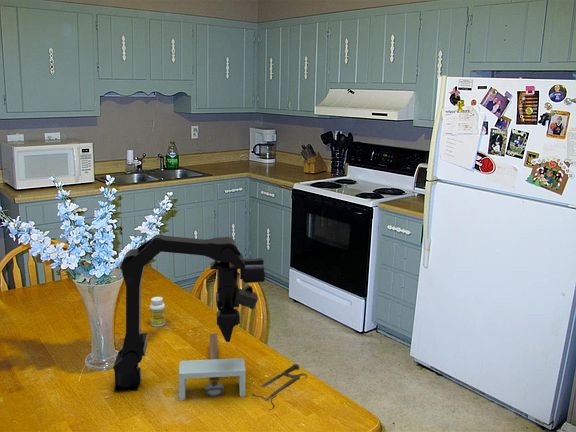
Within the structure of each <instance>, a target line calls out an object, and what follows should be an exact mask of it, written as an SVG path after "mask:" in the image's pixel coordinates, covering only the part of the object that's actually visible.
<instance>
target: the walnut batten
mask: <svg viewBox="0 0 576 432" xmlns="http://www.w3.org/2000/svg"><path fill="white" fill-rule="evenodd" d="M218 342H219V340H218V332H217V333H215V332H214V333H209V360H212V359H219V343H218ZM219 378H220V377H209V381H219Z"/></svg>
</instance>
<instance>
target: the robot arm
mask: <svg viewBox="0 0 576 432" xmlns="http://www.w3.org/2000/svg"><path fill="white" fill-rule="evenodd" d="M160 253H173V254H180V255H193V256H202V257H207V258H208V259H211V260H213V261H211V262H210V264H209V265H210V267H209V268H210V270H212V271H213V270H216V292H215V302H216V308H217V309H218V311H217V312H216V325H217V326H218V329H219V330H220V332H221V334H222V337H223V338H224V341H225V342H226V343H230V342H231V339H232V335H233V330H234V327H236V326H238V325H240V324H241V313H240V311H239V310H238V309H237V308H239V307H240V306H243V307H246V308H249V309H251V310H255V308H256V305H257V302H258V301H259V297H258V294H257V292H256V291H254V289H253V286H251V285H246V286H245V287H244V288H243V287H242V288H239V284H238V278H239V280H242V282H243V283H244V284H252V283H253V284H255V283H258V284H259V283H265V279H266V278H265V277H266V275H265V274H266V273H265V265H264V258H263V257H258V258H244V256H243V254H242V252H240V250H239V249H238V244H237V242H236V240H235V239H234V238H232V237H229V236H223V237H222V236H221V237H218V236H217V237H213V238H209V239H202V238H195V237H194V238H193V237H184V236H183V237H182V236H173V235H163V234H161V233H159V234H158V233H157V234H155V235H154V236H152V237H151V238H150V239H149V240H147V241H145V242H143V243H142V244H141V245H140V246H138V247H137V248H132V249H130V250H128V251H127V252H126V253H125V255H124V257H123V259H122V261H121V263H120V265H121V266H120V268H121V273H122V279H123V281H124V285H125V335H124V340H123V343H122V348H121V349H120V350H119V351H117V355H116V357H115V361H114V362H113V367H112V369H113V371H114V388H113V391H114V392H132V391H134V392H135V391H139V386H140V385H141V384H142V383H141V382H142V369H141V368H142V367H140V363H141V362H142V360H143V357H145V355H146V351H147V346H148V343H147V336H148V333H147V332H144V333H143V331H142V329H141V328H142V327H141V324H142V323H141V319H142V318H141V317H142V315H141V314H142V313H141V312H142V308H141V307H142V306H141V305H142V278H143V274H144V270H145V266H146V265H148V264H149V263H150V262H151V261H152V260H153V259H154V258H155V257H156V256H157V255H158V254H160ZM238 270H239V271H238ZM238 272H239V275H238ZM238 276H239V277H238Z"/></svg>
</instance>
